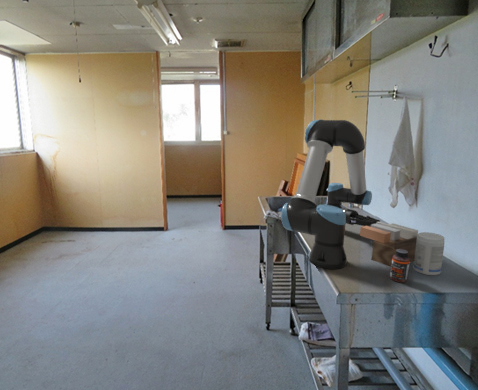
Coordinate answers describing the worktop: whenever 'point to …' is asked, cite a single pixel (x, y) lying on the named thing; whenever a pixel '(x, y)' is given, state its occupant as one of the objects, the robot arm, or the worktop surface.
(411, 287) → the worktop surface
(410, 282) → the worktop surface
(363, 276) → the worktop surface
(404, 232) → the off-white bar
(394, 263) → the supplement bottle
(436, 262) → the supplement tub
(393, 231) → the gray bar
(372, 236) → the orange rectangular bar
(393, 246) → the walnut key block
